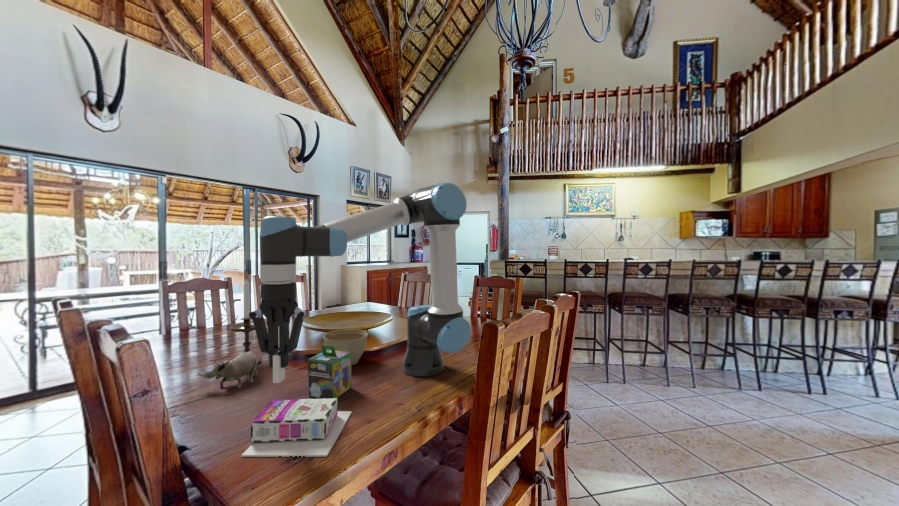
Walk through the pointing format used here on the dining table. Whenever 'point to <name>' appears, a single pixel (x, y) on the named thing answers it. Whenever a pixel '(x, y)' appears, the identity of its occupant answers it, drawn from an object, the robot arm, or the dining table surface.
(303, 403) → the candy bar box
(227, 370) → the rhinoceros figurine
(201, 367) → the dining table surface
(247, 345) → the candlestick
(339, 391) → the chalk box
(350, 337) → the planter bowl
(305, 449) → the mat
